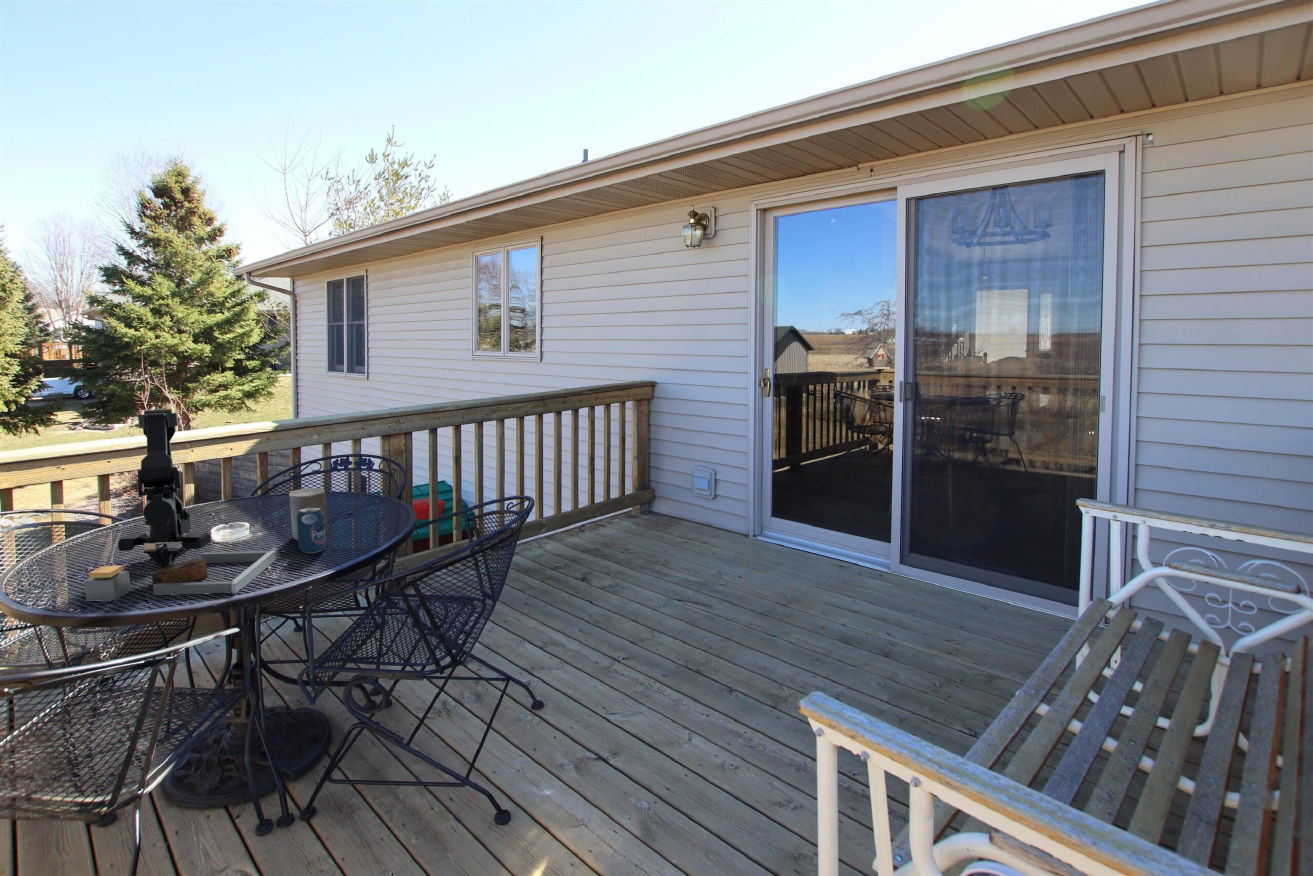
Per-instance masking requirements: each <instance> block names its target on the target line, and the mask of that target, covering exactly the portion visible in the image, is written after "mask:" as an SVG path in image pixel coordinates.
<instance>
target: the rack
mask: <svg viewBox="0 0 1313 876" xmlns="http://www.w3.org/2000/svg"><path fill="white" fill-rule="evenodd" d="M200 559H203V560H205V561H206V564H225V563H227V564H230V563H252V564H251V565H250V566H249V567H247V568H246V569H245V570H244V571H243V572H242V573H240V574H239V575H238V576H236V577H235V578H233V580H229V581H226V580H225V581H200V582H199V581H198V582H196V581H192V582H189V583H159V584H155V585H154V584H153V586H152V587H153V588H152V591H153V596H154V595H171V594H173V596H179V595H178V594H198V593H199V594H200V593H221V592H224V593H228V592H229V593H233V594H238V593H239V592H240V591H241V590H243V588H245V587H246V586H248V584H250V583H251V582H252V581H253V580H254V579H255V578H257V577H258V576H259V575H261V574H262V572H263V571H265V569H267V568H268V567H269V566H270V565H272V564H273V563H274V562H275V561H276V560H277V554H276V550H249V551H247V550H245V551H241V550H240V551H209V552H202V553H200ZM244 586H245V587H244ZM240 589H241V590H240ZM239 590H240V591H239ZM238 591H239V592H238ZM237 592H238V593H237ZM175 594H176V595H175Z"/></svg>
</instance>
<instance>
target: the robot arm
mask: <svg viewBox="0 0 1313 876" xmlns="http://www.w3.org/2000/svg"><path fill="white" fill-rule="evenodd" d="M172 411H173V410H172V408H169V409H166V408H165V409H148V410H147V409H146V410H143V414H137V418H138V419H137V420H138V429H142V432H143V435H144V436H145V437H146V455H145V456H144V457H143V458H142V459H141V461H140V469H137V484H138V487H137V488H138V489H137V490H138V497H144V496H145V502H146V503H145V505H144V509H143V511H142V513H143V517H144V518H145V521H144V525H145V526H148V528H149V529H148V530H149V535H148V533H146V532H137V533H136V532H133V533H128V534H127V535H124V536H123V537H121V538H119V539H118V541H117V544H116V545H117V551H119V552H124V551H129V552H130V551H132V550H133V549H135V547H136V546H145V547H144V548H145V550H143V553H144V554H148V555H149V556H150V558H151V559H153V561H154V562H155V563H156V564H157V565H158V567H159V569H161V568H164V567H167V566H170V565H174V564H176V563H175V562H176V560H177V559H176V558H177V556H180V555H182V554H184V553H185V552H187V551H188V550H198V549H202V548H203V547H205V546H207V545H208V544H209V543H211V542H212V539H211V535H210V533H209V532H208V531H192V532H191V529H192V520H191V515H190V512H188V511H187V508H184V503H183V501H182V500H181V499H180V498H179V497H178V496H177V494H176V493H178V492H179V489H181V488H182V487H181V472H180V470H178V467H177V466H174V461H173V457H172V448H171V447H172V446H171V440H172V438H174V436H175V434H176V432H177V429H176V427H178V426H179V419H178V413H177V412H172ZM184 534H187V535H184Z"/></svg>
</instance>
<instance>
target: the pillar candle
mask: <svg viewBox="0 0 1313 876" xmlns="http://www.w3.org/2000/svg"><path fill="white" fill-rule="evenodd" d="M288 496H289V498H288V499H289V507H290V519H291V531H292V538H293V540H295V541H298V530H297V514H298V512H299V511H298V510H299V509H301V508H304V507H310V506H318V507H321V510H322V511H323V513H324V520H325V535H326V537H328V535H329V528H328V516H327V514H328V513H327V501H326V491H325V488H324V489H323V488H319V487H306V488H303V489H302V488H301V489H296V490H294V491H291V492H290V493H288Z"/></svg>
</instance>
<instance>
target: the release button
mask: <svg viewBox="0 0 1313 876" xmlns="http://www.w3.org/2000/svg"><path fill="white" fill-rule="evenodd" d="M121 571H124V569H123V565H102V566H99V567H97V568H95V569H94V570H92V571H91V572H89V573H88V574H89V578H98V579H111V578H112V577H114V576H116V574H118V573H119V572H121Z"/></svg>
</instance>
